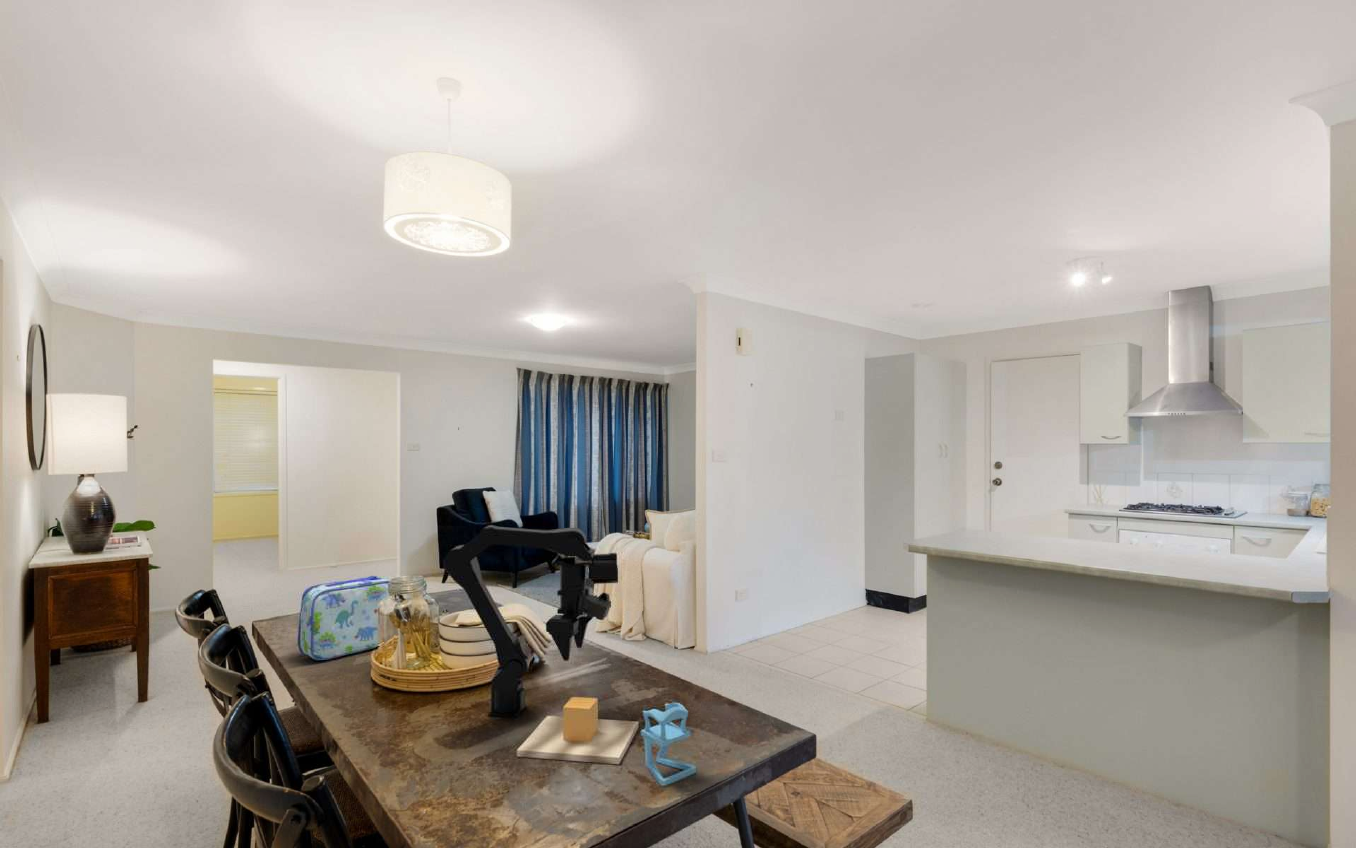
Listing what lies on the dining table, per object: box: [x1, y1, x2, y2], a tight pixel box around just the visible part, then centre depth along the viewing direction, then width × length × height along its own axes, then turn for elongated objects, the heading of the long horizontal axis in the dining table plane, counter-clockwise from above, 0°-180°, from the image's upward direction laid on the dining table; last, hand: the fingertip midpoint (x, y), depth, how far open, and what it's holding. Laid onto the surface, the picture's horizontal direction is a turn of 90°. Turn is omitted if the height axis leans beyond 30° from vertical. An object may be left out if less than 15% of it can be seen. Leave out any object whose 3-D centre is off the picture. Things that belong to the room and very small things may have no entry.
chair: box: [640, 702, 697, 787], centre depth 118 cm, size 8×8×12 cm
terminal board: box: [516, 715, 639, 765], centre depth 130 cm, size 20×16×5 cm
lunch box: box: [297, 575, 392, 661], centre depth 190 cm, size 26×11×21 cm, turn 141°
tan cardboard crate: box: [562, 696, 599, 742], centre depth 130 cm, size 5×5×6 cm
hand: (573, 653), depth 148 cm, fingers open, 9 cm apart
